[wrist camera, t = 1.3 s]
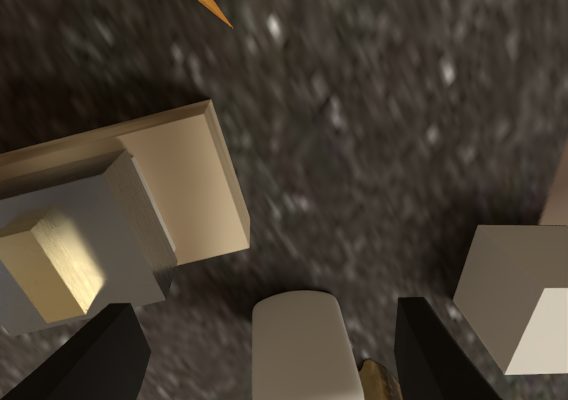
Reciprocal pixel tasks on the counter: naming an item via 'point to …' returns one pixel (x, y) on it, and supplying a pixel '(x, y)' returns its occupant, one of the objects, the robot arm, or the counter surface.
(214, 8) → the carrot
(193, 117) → the body
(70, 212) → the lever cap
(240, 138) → the counter surface
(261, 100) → the counter surface
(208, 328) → the counter surface
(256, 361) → the eye dropper bottle
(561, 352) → the white cube
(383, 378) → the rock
